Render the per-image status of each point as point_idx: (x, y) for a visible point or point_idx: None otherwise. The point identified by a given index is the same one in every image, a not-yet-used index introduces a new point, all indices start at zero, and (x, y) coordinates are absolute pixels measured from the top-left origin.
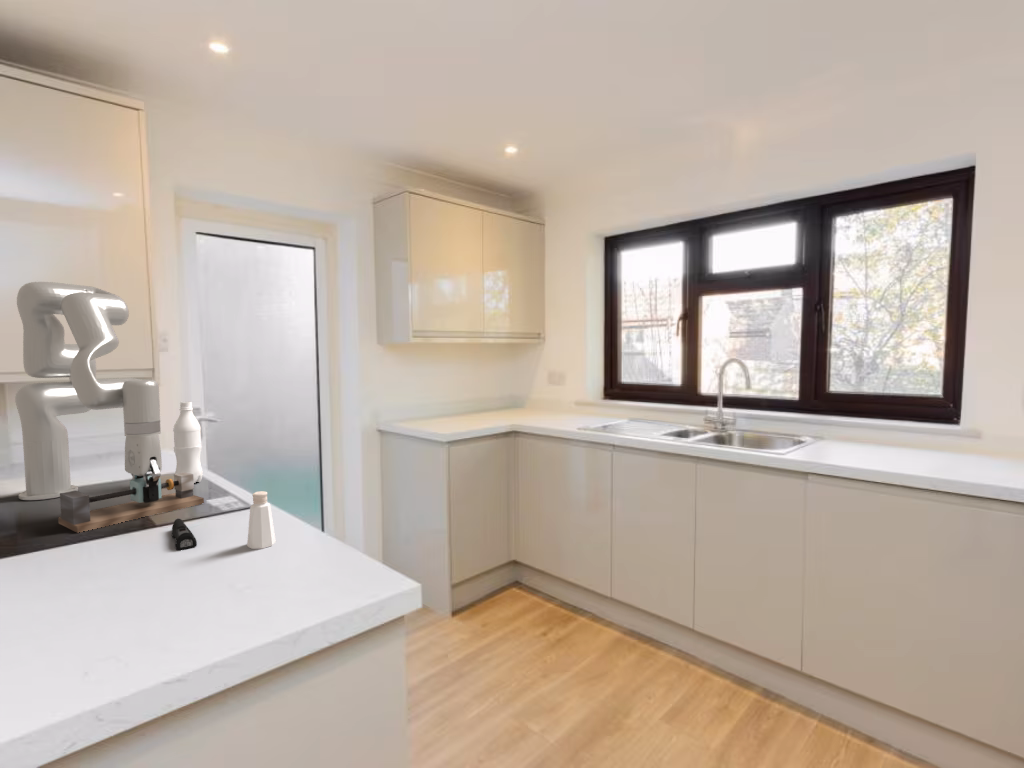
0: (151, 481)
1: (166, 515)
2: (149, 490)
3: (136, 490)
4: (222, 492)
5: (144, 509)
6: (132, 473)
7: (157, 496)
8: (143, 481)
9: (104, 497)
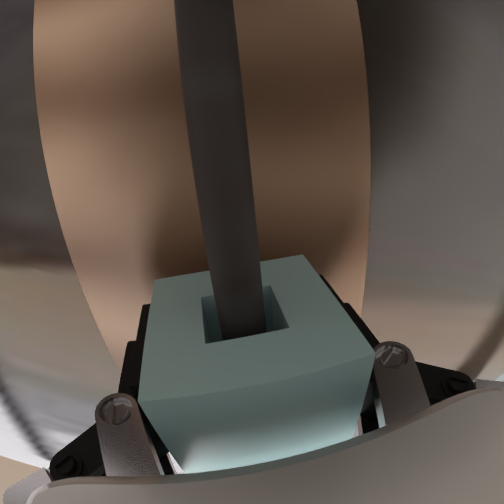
0: (60, 452)
1: (67, 324)
2: (121, 386)
3: (196, 329)
4: None
5: (118, 275)
6: (273, 473)
7: None
8: (173, 432)
9: (178, 43)
